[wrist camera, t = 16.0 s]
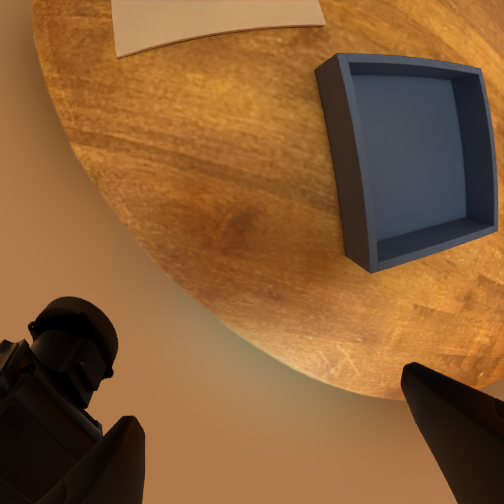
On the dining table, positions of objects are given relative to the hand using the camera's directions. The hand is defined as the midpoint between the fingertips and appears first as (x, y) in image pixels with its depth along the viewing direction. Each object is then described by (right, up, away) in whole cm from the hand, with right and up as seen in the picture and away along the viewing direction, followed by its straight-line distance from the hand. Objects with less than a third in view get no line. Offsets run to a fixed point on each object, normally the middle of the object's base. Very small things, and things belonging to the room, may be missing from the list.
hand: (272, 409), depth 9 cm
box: (+11, +12, +11) cm, 20 cm away
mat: (-4, +24, +6) cm, 25 cm away
